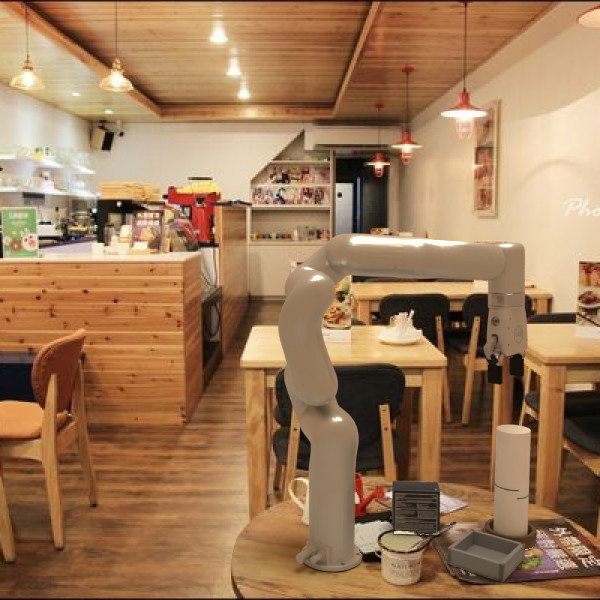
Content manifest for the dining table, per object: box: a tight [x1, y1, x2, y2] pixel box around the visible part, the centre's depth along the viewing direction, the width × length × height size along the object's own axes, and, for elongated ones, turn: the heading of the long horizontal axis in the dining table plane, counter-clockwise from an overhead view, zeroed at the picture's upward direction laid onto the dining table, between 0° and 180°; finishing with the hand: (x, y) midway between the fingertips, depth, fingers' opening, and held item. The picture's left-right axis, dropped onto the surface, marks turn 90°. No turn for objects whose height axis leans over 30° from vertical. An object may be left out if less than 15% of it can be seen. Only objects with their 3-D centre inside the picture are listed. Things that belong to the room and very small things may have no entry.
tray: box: [446, 528, 526, 583], centre depth 139 cm, size 12×12×4 cm
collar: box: [484, 517, 538, 549], centre depth 149 cm, size 11×11×3 cm
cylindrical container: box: [493, 424, 532, 536], centre depth 148 cm, size 7×7×25 cm
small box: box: [391, 480, 441, 534], centre depth 154 cm, size 11×6×10 cm, turn 84°
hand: (506, 379), depth 147 cm, fingers open, 9 cm apart
